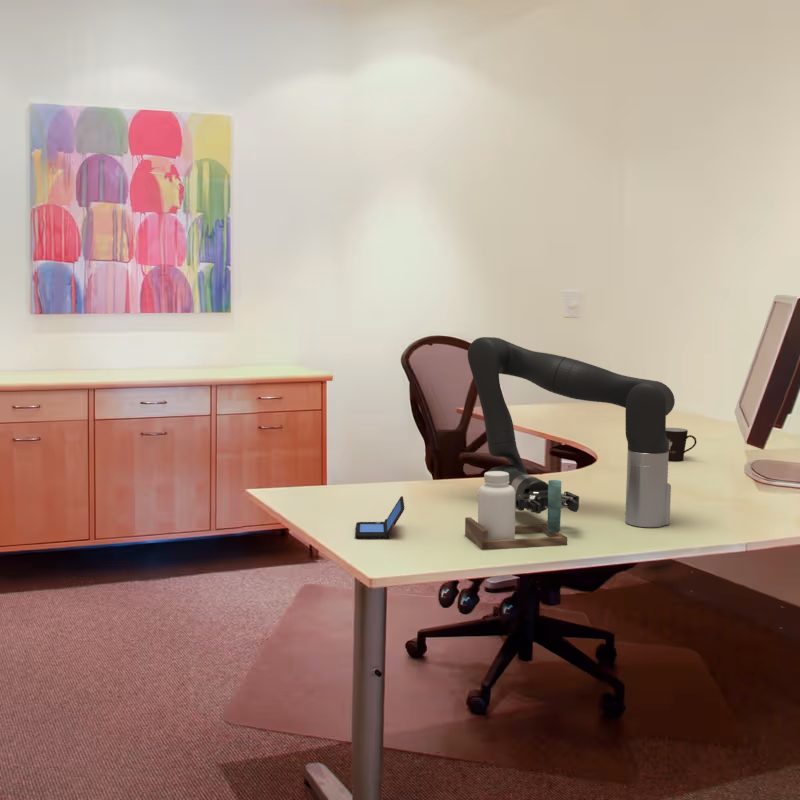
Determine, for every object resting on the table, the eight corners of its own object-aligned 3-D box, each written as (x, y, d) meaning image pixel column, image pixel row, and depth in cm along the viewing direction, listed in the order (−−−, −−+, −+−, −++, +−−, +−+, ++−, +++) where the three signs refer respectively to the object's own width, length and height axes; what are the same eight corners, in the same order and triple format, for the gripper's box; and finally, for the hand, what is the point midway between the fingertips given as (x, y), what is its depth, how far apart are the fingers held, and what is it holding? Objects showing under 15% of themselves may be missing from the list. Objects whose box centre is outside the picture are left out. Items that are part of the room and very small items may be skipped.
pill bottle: (469, 540, 204) (470, 472, 202) (495, 534, 209) (496, 468, 207) (497, 548, 198) (498, 478, 196) (522, 541, 203) (523, 473, 202)
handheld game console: (356, 526, 217) (356, 494, 216) (402, 526, 217) (403, 495, 216) (354, 540, 204) (354, 507, 204) (404, 540, 205) (404, 507, 204)
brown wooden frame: (548, 530, 213) (550, 475, 212) (570, 544, 201) (572, 486, 200) (465, 535, 208) (465, 479, 207) (482, 549, 197) (483, 490, 195)
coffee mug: (653, 458, 309) (654, 428, 307) (676, 457, 311) (677, 427, 310) (674, 464, 298) (675, 433, 296) (697, 463, 300) (699, 432, 299)
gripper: (502, 478, 218) (527, 492, 202) (559, 475, 221) (588, 489, 206) (501, 510, 219) (526, 526, 203) (558, 507, 222) (587, 523, 206)
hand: (557, 508), depth 204 cm, fingers open, 8 cm apart
